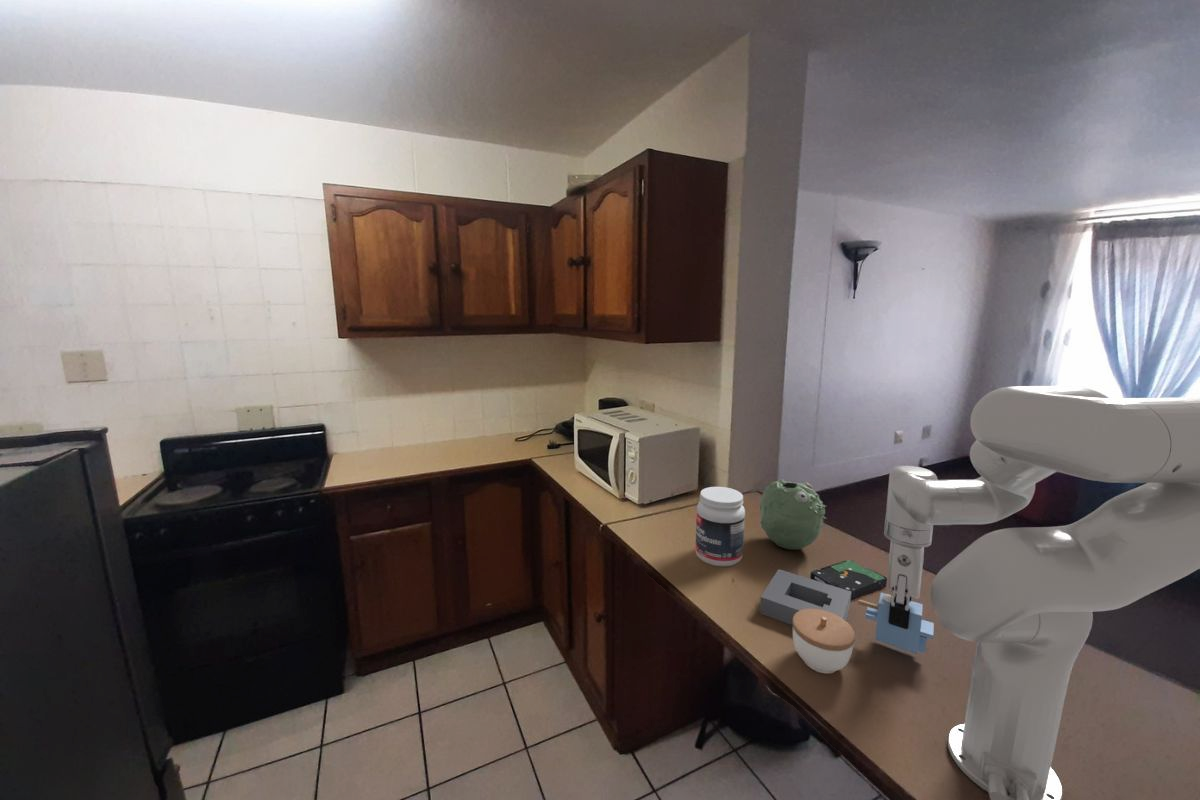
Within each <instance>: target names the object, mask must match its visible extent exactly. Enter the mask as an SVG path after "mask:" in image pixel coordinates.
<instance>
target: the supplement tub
mask: <svg viewBox="0 0 1200 800" xmlns="http://www.w3.org/2000/svg"><path fill="white" fill-rule="evenodd" d="M697 503H698V504H697V506H696V518H695V519H696V521H695V525H696V526H695V542H694V543H695V548H694V551H695V553H696V556H697V557H698V558H699V559H700V560H701V561H702V562H704V563H707V564H709V565H712V566H717V567H731V566H734V565H736V564H738V563H740V561H741V560H742V559H743V556H744V555H743V552H744V537H745V536H744V534H745V518H746V509H745V507H744V506H743V505H744V495H743V493H742V492H740V491H738V489H737V490H736V489H733V488H730V487H725V486H710V487H709V486H708V487H705V488H703V489H701V491H700V493H699V502H697Z"/></svg>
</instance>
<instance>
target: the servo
mask: <svg viewBox="0 0 1200 800" xmlns="http://www.w3.org/2000/svg"><path fill="white" fill-rule="evenodd" d="M904 600H905V599H904ZM890 603H892V594H888V593H884V592H880V595H879V599H878V604H875V603H873V602H871V601H866V600H863V599H860V598H859V599H858V603H857V604H858V605H860V606H864V607H866V612H865V619H868V620H871V621H874V622H876V626H875V627H876V628H875V638H874V639H875V641H877V642H880V643H882V644H886V645H889V646H892V647H894V648H898V649H901V650H903V651H906V652H909V653H913V654H916V655H919V652H921V653H925V654H926V649H927V648H926V647H927V639H930V640H934V633H935V630H934V629H935V628H934V626H935V623H934V622H932V621H927V620H924V619H922V618H923V607H924V606H923V603H920V602H916V601H913V600H911V601H909V609H910V616H909V625H908V629H904V628H901V627H897V626H894V625H891V624H889V622H888V620H889V610H890Z"/></svg>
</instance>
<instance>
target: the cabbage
mask: <svg viewBox="0 0 1200 800" xmlns="http://www.w3.org/2000/svg"><path fill="white" fill-rule="evenodd" d="M820 498H821V497H820V494H818V493H817V492H816V490H814V487H813V485H812V484H811V483H810V482H806V481H805V482H803V483H801V482H800V483H799V482H795V481H793V482H792V481H790V480H788V481H786V480H784V479H783V478H781V479H780V480H777V481H772V482H771V483H770V484H768V485H767V487H766V486H765V488H764V490H763V493H762V496H761V500H760V502H759V503H760V504H759V512H760V524H761V529H762V530H763V531H764V532H765V534H766V536H767V537H768V538H769V539H770V540H771V541H772V542H773V543H774V544H776V545H777V546H778V547H780V548H783V549H786V550H801V549H804V548H806V547H808V546H810V545H811V544H813V543H814V542H815V541H817V539H818V538H819V536H820V534H821V531H822V527H823V524H824V520H827V519H828V518H827V517H825V515H826V508H827V505H825V504H824V502H823V501H822V500H821V499H820Z"/></svg>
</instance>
